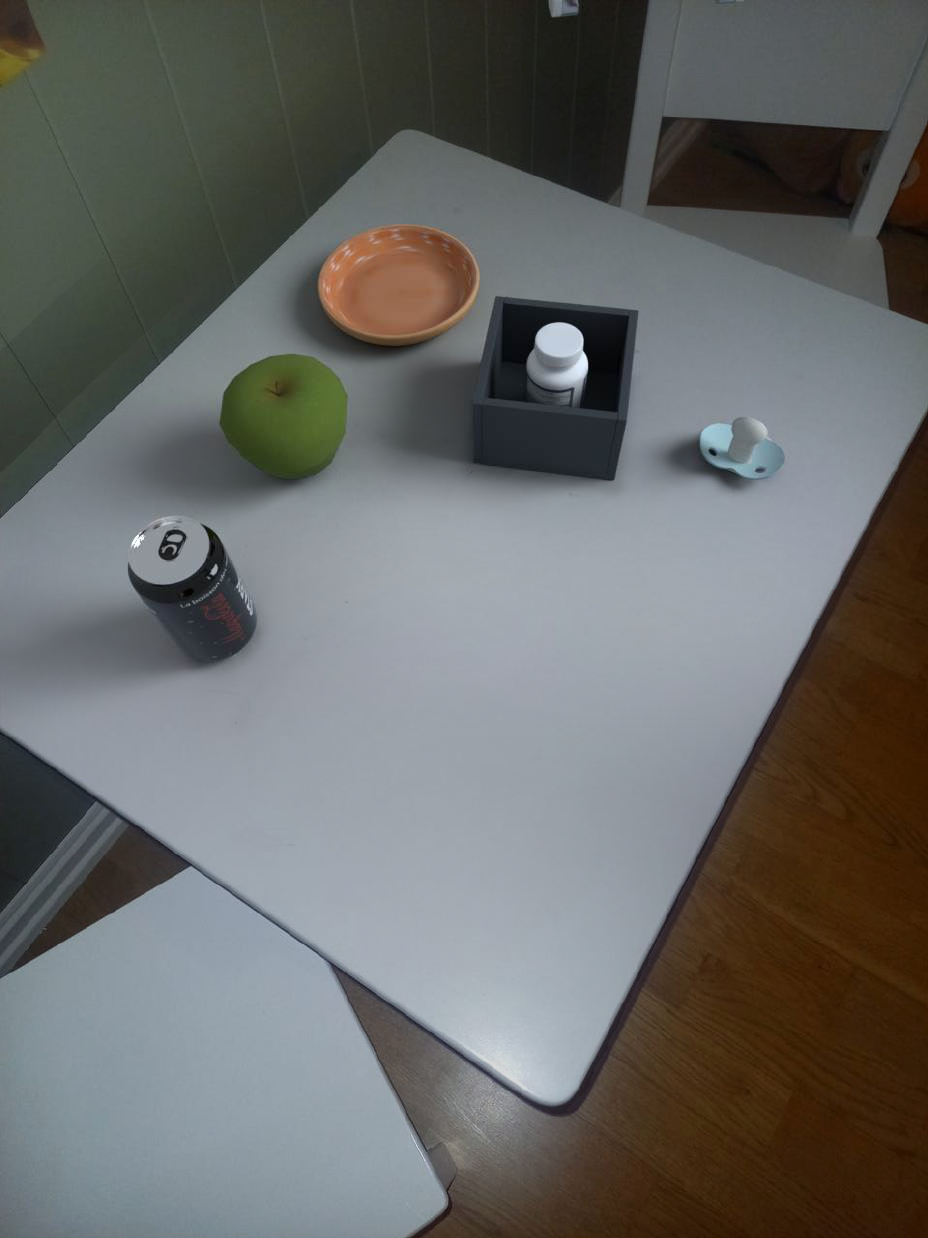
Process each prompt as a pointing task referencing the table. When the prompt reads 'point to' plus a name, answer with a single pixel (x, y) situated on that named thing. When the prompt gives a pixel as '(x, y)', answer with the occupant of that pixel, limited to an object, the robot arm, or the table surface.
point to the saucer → (398, 284)
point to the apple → (285, 415)
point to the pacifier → (742, 448)
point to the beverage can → (192, 587)
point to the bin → (551, 431)
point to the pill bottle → (557, 367)
